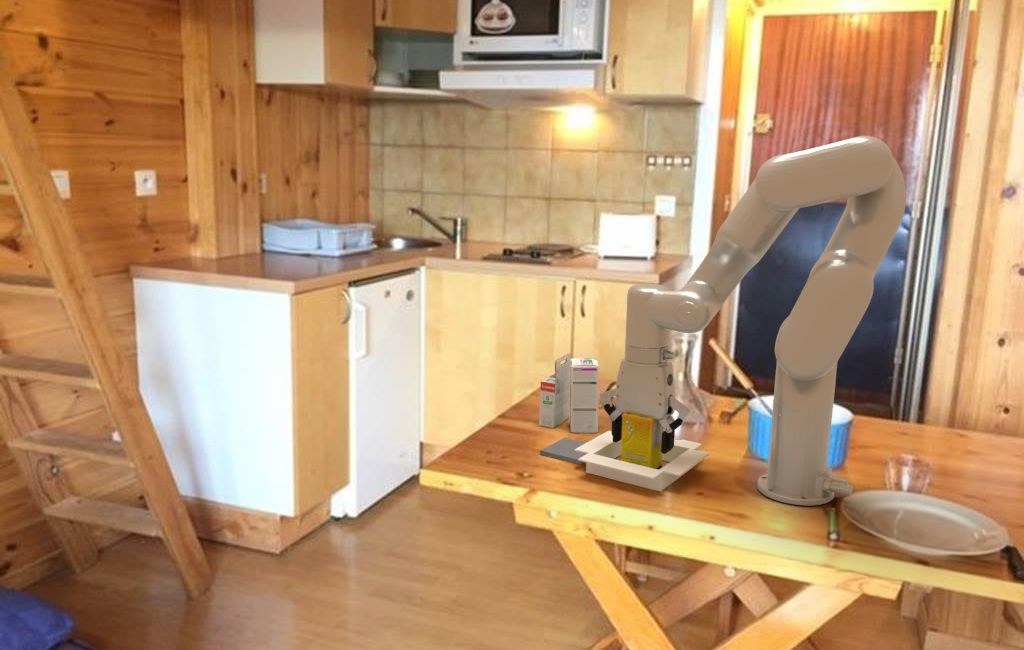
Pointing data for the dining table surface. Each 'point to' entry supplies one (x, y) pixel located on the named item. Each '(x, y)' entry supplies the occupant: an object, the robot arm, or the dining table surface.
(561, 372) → the ink box
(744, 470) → the dining table surface
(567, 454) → the coaster
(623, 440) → the supplement box
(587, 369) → the syrup box
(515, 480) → the dining table surface
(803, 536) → the dining table surface
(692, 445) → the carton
